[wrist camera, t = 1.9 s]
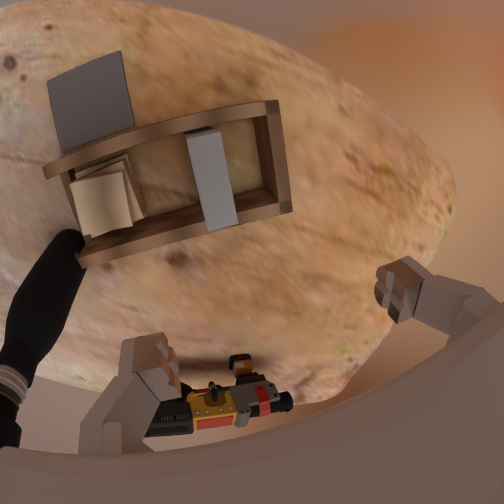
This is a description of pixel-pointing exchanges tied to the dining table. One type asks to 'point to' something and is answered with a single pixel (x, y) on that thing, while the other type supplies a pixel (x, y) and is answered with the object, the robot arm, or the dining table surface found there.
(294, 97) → the dining table surface
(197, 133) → the gray rectangular block
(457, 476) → the robot arm
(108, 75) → the flat gray square tile
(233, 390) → the toy gun
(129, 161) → the offcut bottom
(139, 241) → the wooden box
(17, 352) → the wine bottle
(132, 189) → the block
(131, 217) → the offcut top
